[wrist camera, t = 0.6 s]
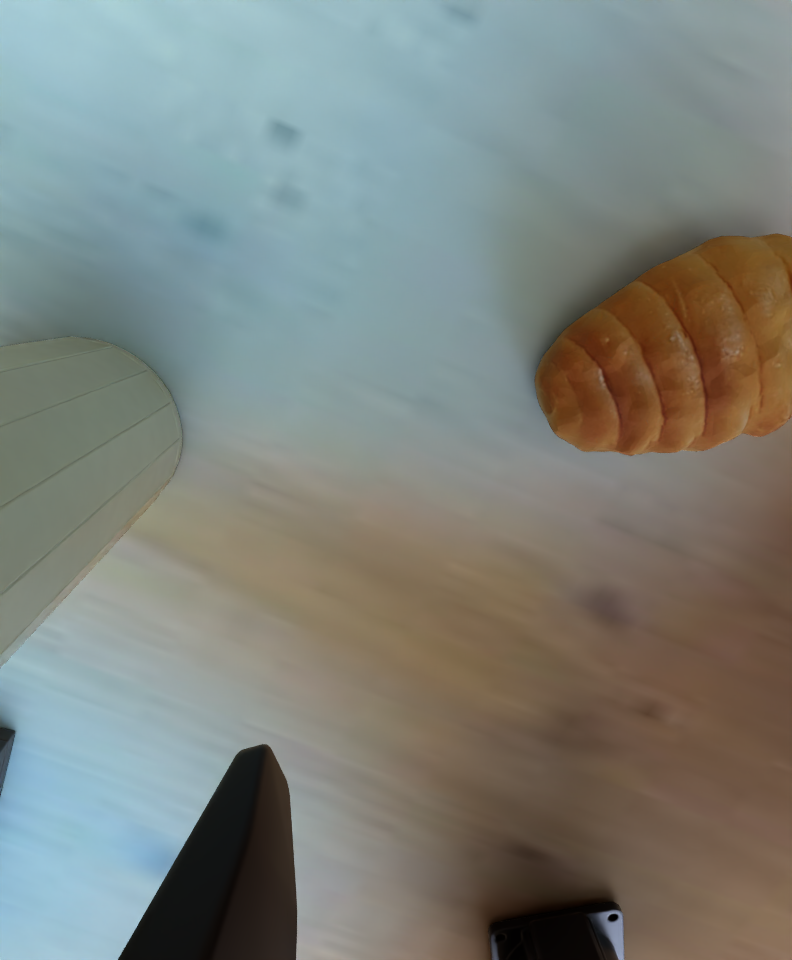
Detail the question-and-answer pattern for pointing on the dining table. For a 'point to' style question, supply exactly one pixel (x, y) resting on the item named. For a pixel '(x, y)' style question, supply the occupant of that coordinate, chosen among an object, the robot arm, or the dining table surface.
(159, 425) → the tumbler
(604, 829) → the dining table surface
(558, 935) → the robot arm
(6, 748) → the tub
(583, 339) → the pastry
